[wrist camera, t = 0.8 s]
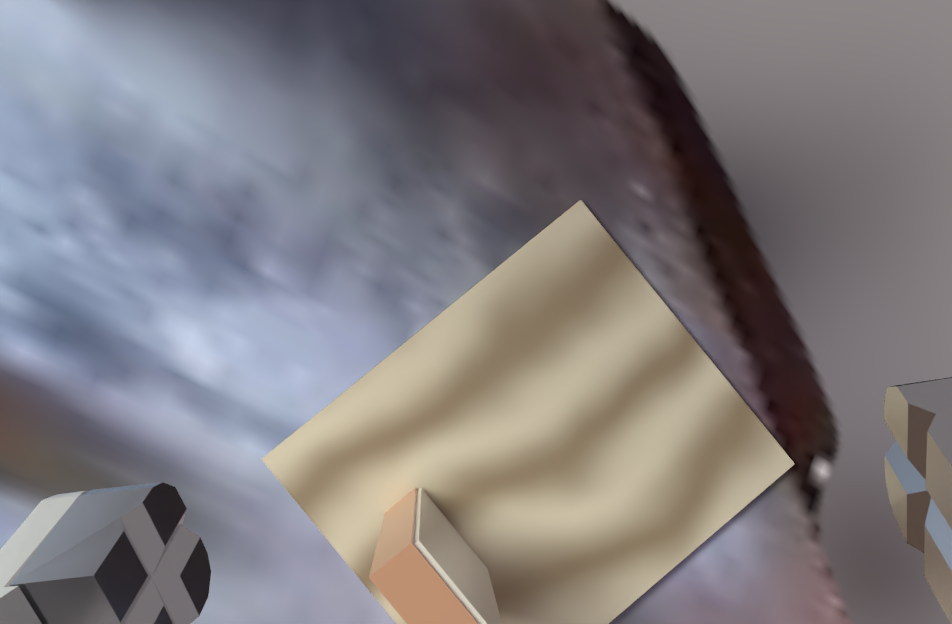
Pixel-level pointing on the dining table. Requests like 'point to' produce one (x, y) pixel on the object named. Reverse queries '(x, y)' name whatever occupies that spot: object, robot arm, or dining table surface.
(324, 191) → the dining table surface
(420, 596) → the tile
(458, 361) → the board
